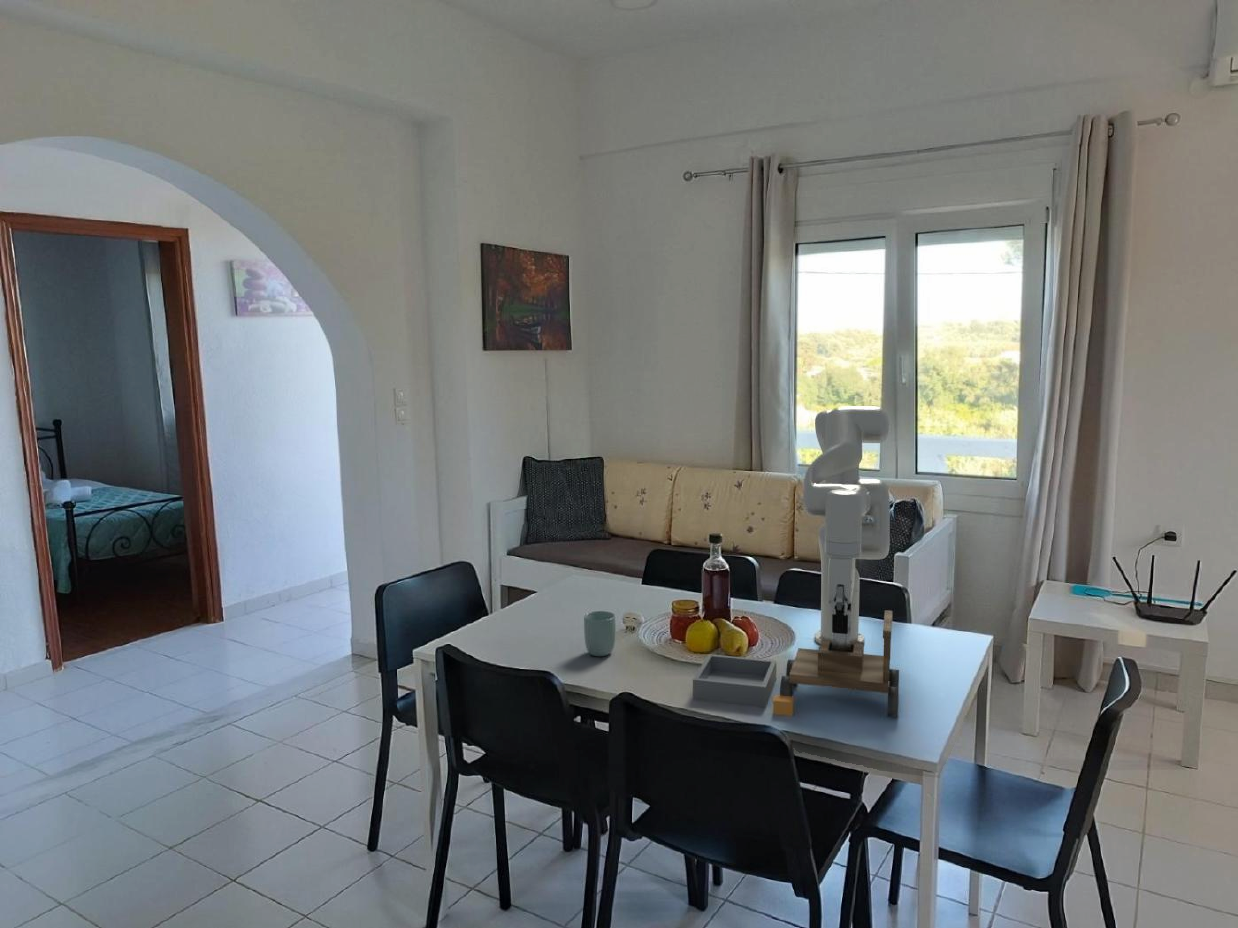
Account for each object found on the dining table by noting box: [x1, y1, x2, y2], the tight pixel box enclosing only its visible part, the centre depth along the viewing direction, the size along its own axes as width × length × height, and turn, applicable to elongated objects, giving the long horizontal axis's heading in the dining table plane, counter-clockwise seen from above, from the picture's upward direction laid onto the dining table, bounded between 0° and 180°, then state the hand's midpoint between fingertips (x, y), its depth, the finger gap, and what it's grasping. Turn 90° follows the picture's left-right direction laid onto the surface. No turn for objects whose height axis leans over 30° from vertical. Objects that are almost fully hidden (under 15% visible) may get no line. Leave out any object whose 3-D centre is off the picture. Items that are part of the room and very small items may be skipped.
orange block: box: [772, 694, 795, 717], centre depth 186 cm, size 3×4×3 cm
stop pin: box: [832, 610, 851, 652], centre depth 189 cm, size 4×4×12 cm
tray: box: [692, 653, 777, 708], centre depth 198 cm, size 16×16×4 cm
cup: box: [583, 610, 617, 657], centre depth 221 cm, size 8×8×10 cm
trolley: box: [779, 610, 900, 718], centre depth 190 cm, size 16×24×19 cm, turn 72°
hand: (841, 625), depth 189 cm, fingers open, 9 cm apart
